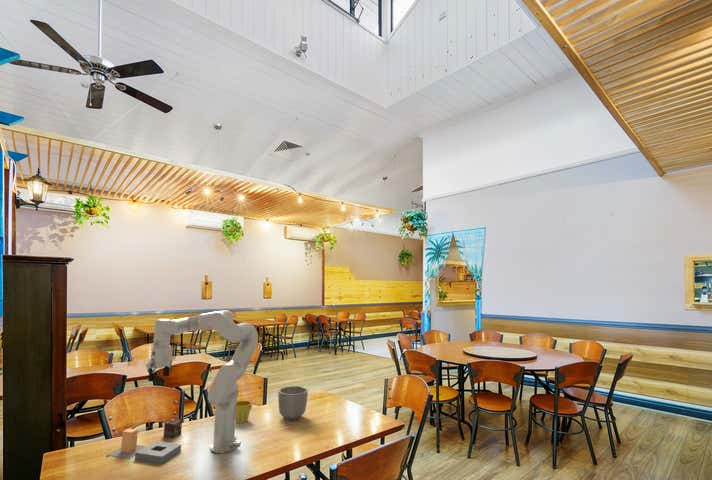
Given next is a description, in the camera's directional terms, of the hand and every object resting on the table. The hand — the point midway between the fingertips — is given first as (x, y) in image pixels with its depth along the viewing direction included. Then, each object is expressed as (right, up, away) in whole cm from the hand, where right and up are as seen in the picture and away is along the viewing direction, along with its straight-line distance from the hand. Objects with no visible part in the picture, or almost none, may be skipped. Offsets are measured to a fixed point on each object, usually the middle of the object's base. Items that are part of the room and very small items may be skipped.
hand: (158, 378), depth 184 cm
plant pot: (+34, -34, +25) cm, 54 cm away
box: (+5, -31, +4) cm, 32 cm away
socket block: (+9, -29, -18) cm, 35 cm away
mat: (-6, -29, -14) cm, 33 cm away
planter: (+62, -36, +31) cm, 78 cm away
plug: (-6, -28, -14) cm, 32 cm away
